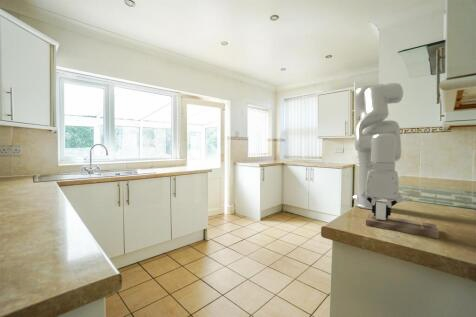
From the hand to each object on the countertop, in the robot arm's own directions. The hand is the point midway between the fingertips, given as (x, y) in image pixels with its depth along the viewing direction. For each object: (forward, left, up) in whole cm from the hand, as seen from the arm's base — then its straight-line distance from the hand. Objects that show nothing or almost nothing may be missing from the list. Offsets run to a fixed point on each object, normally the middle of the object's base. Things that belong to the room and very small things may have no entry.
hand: (381, 215), depth 82 cm
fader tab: (0, 0, -1) cm, 1 cm away
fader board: (+5, +3, -3) cm, 6 cm away
